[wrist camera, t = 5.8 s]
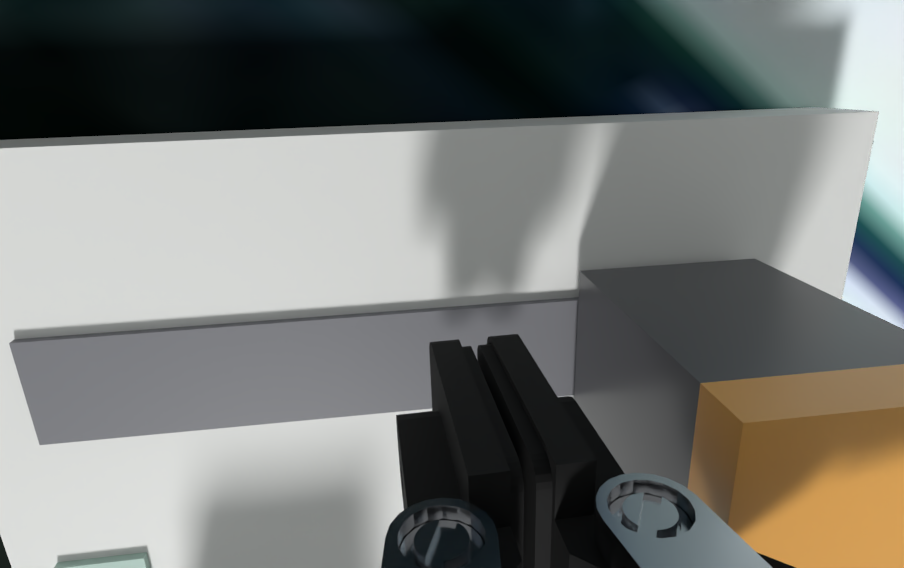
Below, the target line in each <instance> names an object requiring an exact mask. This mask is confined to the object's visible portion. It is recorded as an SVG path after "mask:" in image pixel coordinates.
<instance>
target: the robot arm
mask: <svg viewBox="0 0 904 568" xmlns="http://www.w3.org/2000/svg"><path fill="white" fill-rule="evenodd" d="M429 355H430V375H431V395H432V411H427V412H418V413H409V414H400V415H396V425H397V439H398V452H399V465H400V477H401V487H402V497H403V507H404V511H402V512H401V513H399V514H398V515H397V516H396V518H395V519H394V520H393V521H392V523H391V524H390V525H389V528H388V531H387V534H386V537H385V543H384V550H383V557H382V564H381V568H796V567H793V566H791V565H788V564H785V563H783V562H780V561H778V560H775V559H773V558H770V557H768V556H765V555H762V554H760V553H757V552H756V551H754V550H753V549H752V548H751V547H750V546H749V545H748V544H747V543H746V542H745V541H744V540H743V539H742V538H741V537H740V536H739V535H738V534H737V533H736V532H734V531H733V530H732V529H731V528H730V527H729V526H728V525H727V524H726V523H725V522H724V521H723V520H722V519H721V518H720V517H719V516H718V515H717V514H716V513H715V512H713V511H712V510H711V509H710V508H709V507H708V506H707V505H706V504H705V503H704V502H703V501H702V500H701V499H700V498H699V497H698V496H697V495H695V494H694V493H693V492H691V491H690V490H689V489H687V488H686V487H685V486H683V485H681V484H679V483H677V482H675V481H673V480H671V479H669V478H665V477H661V476H657V475H654V474H645V473H630V474H625V473H624V472H623V470H622V469H621V467H620V466H619V464H618V463H617V461H616V460H615V458H614V457H613V455H612V454H611V453H610V451H609V450H608V448H607V447H606V445H605V444H604V442H603V441H602V439H601V438H600V436H599V435H598V433H597V432H596V430H595V429H594V427H593V426H592V424H591V423H590V421H589V420H588V418H587V417H586V415H585V414H584V412H583V411H582V409H581V408H580V406H579V405H578V403H577V402H576V401H575V399H574V398H573V397H571V396H564V397H557V395H556V394H555V392H554V391H553V389H552V387H551V386H550V384H549V383H548V381H547V379H546V378H545V376H544V375H543V373H542V371H541V370H540V368H539V367H538V365H537V363H536V362H535V360H534V359H533V357H532V355H531V354H530V352H529V351H528V349H527V347H526V346H525V344H524V343H523V341H522V339H521V338H520V336H519V335H518V334H510V335H500V336H489V337H488V339H487V344H485V345H478V348H477V358H476V356H475V354H474V351H473V349H472V347H471V346H464V347H462V345H461V343H460V340H459V339H457V340H446V341H436V342H430V344H429Z"/></svg>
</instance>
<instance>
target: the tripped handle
mask: <svg viewBox="0 0 904 568" xmlns="http://www.w3.org/2000/svg"><path fill="white" fill-rule="evenodd" d="M574 399H575V401H576V402H577V403H578V405H579V406H580V408H581V409H582V411H583V412H584V414H585V415H586V417H587V418H588V420H589V421H590V423H591V424H592V426H593V427H594V429H595V430H596V432H597V433H598V435H599V436H600V438H601V439H602V441H603V442H604V444H605V445H606V447H607V448H608V450H609V451H610V453H611V454H612V455H613V457H614V458H615V460H616V461H617V463H618V464H619V466H620V467H621V469H622V470H623V472H624V473H625V474H630V473H645V474H654V475H657V476H661V477H665V478H669V479H671V480H673V481H675V482H677V483H679V484H681V485H683V486H685V487H686V488H687V489H689V490H690V491H691V492H693V493H694V494H695V495H697V496H698V497H699V498H700V499H701V500H702V501H703V502H704V503H705V504H706V505H707V506H708V507H709V508H710V509H711V510H712V511H713V512H715V513H716V514H717V515H718V516H719V517H720V518H721V519H722V520H723V521H724V522H725V523H726V524H727V525H728V526H729V527H730V528H731V529H732V530H733V531H734V532H736V533H737V534H738V535H739V536H740V537H741V538H742V539H743V540H744V541H745V542H746V543H747V544H748V545H749V546H750V547H751V548H752V549H753V550H754V551H756V552H757V553H760V554H762V555H765V556H768V557H770V558H773V559H775V560H778V561H780V562H783V563H785V564H788V565H791V566H793V567H796V568H904V329H902V328H900V327H897V326H895V325H893V324H891V323H889V322H887V321H885V320H883V319H881V318H879V317H876V316H874V315H872V314H870V313H868V312H866V311H864V310H862V309H860V308H858V307H855V306H853V305H851V304H849V303H847V302H845V301H843V300H841V299H839V298H837V297H834V296H832V295H830V294H828V293H826V292H824V291H822V290H820V289H818V288H816V287H813V286H811V285H809V284H807V283H805V282H803V281H801V280H799V279H797V278H795V277H792V276H790V275H788V274H786V273H784V272H782V271H780V270H778V269H776V268H774V267H771V266H769V265H767V264H765V263H763V262H761V261H759V260H757V259H741V260H726V261H712V262H698V263H683V264H669V265H655V266H640V267H626V268H612V269H597V270H583V271H580V276H579V299H578V322H577V345H576V368H575V391H574Z"/></svg>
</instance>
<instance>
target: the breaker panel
mask: <svg viewBox="0 0 904 568" xmlns="http://www.w3.org/2000/svg"><path fill="white" fill-rule="evenodd" d="M878 114H879V112H877V111H863V110H849V109H835V108H821V107H805V108H780V109H756V110H731V111H706V112H681V113H656V114H631V115H607V116H582V117H557V118H532V119H507V120H483V121H458V122H433V123H408V124H383V125H358V126H334V127H309V128H284V129H259V130H234V131H210V132H185V133H160V134H135V135H110V136H85V137H61V138H36V139H11V140H0V535H1V538H2V541H3V544H4V547H5V549H6V552H7V555H8V558H9V561H10V564H11V567H12V568H381V564H382V557H383V550H384V543H385V537H386V534H387V531H388V528H389V525H390V524H391V523H392V521H393V520H394V519H395V518H396V516H397V515H398V514H399V513H401V512H402V511H404V507H403V497H402V487H401V477H400V465H399V452H398V439H397V425H396V415H400V414H409V413H418V412H427V411H432V395H431V375H430V355H429V344H430V342H436V341H446V340H457V339H459V340H460V343H461V345H462V347H464V346H471V347H472V349H473V351H474V354H475V356H476V358H477V348H478V345H485V344H487V339H488V337H489V336H500V335H510V334H518V335H519V336H520V338H521V339H522V341H523V343H524V344H525V346H526V347H527V349H528V351H529V352H530V354H531V355H532V357H533V359H534V360H535V362H536V363H537V365H538V367H539V368H540V370H541V371H542V373H543V375H544V376H545V378H546V379H547V381H548V383H549V384H550V386H551V387H552V389H553V391H554V392H555V394H556V395H557V397H564V396H571V397H573V398H574V391H575V368H576V345H577V322H578V299H579V276H580V271H583V270H597V269H612V268H626V267H640V266H655V265H669V264H683V263H698V262H712V261H726V260H741V259H757V260H759V261H761V262H763V263H765V264H767V265H769V266H771V267H774V268H776V269H778V270H780V271H782V272H784V273H786V274H788V275H790V276H792V277H795V278H797V279H799V280H801V281H803V282H805V283H807V284H809V285H811V286H813V287H816V288H818V289H820V290H822V291H824V292H826V293H828V294H830V295H832V296H834V297H837V298H839V299H841V300H842V295H843V290H844V285H845V280H846V275H847V270H848V265H849V260H850V255H851V250H852V245H853V240H854V235H855V230H856V225H857V220H858V215H859V209H860V204H861V199H862V194H863V189H864V184H865V179H866V174H867V169H868V164H869V159H870V154H871V149H872V144H873V139H874V134H875V129H876V124H877V119H878Z"/></svg>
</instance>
